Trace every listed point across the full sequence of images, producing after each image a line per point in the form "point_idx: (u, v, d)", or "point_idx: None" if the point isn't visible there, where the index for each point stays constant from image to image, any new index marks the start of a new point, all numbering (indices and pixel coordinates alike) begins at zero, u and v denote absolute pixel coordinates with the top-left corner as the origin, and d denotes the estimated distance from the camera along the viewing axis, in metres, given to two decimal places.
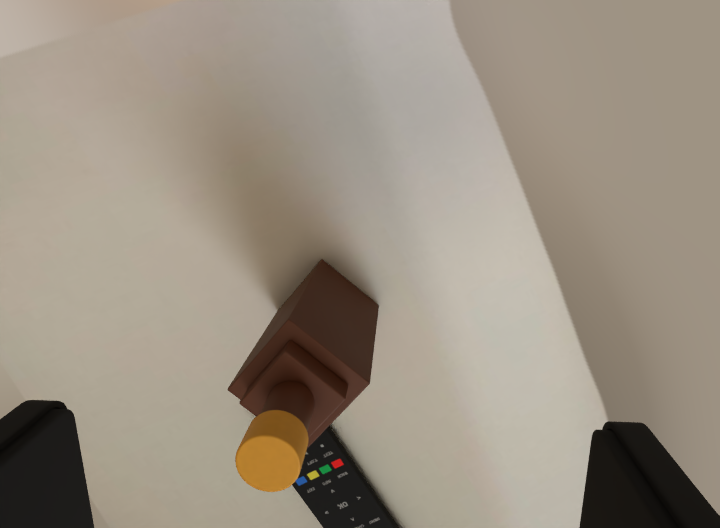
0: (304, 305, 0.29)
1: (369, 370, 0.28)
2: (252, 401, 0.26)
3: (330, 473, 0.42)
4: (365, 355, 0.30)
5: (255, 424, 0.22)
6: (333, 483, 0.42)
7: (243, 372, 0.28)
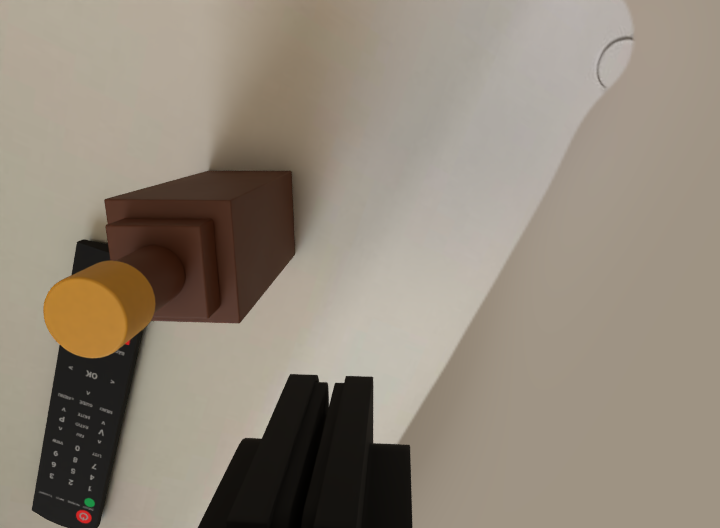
0: (250, 199, 0.24)
1: (248, 310, 0.24)
2: (120, 236, 0.21)
3: None
4: (255, 292, 0.25)
5: (110, 269, 0.17)
6: None
7: (136, 200, 0.22)
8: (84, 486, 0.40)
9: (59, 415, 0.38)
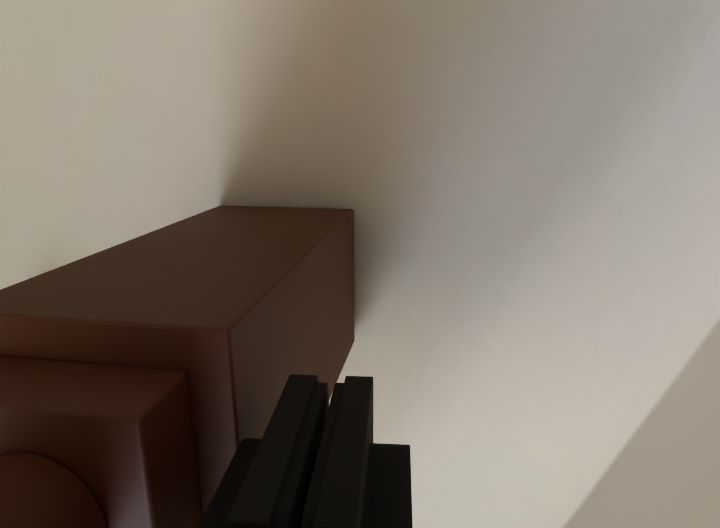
0: (281, 297, 0.11)
1: None
2: None
3: None
4: None
5: None
6: None
7: (14, 318, 0.09)
8: None
9: None
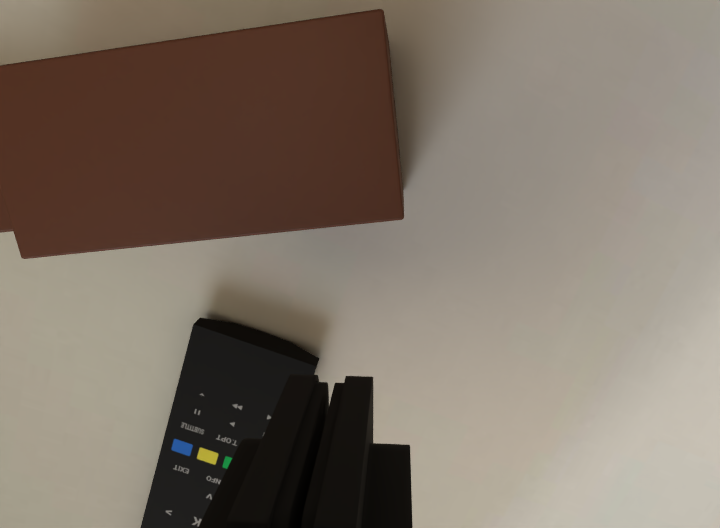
0: None
1: (9, 64, 0.15)
2: None
3: None
4: None
5: None
6: None
7: None
8: None
9: None
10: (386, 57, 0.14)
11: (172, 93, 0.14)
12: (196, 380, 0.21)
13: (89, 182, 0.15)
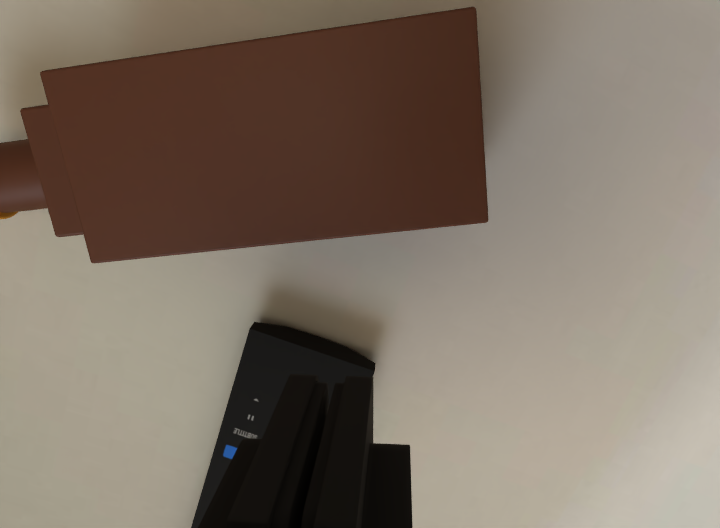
0: None
1: (84, 65, 0.14)
2: None
3: None
4: None
5: None
6: None
7: None
8: None
9: None
10: (477, 56, 0.13)
11: (253, 94, 0.14)
12: (251, 385, 0.21)
13: (164, 185, 0.15)
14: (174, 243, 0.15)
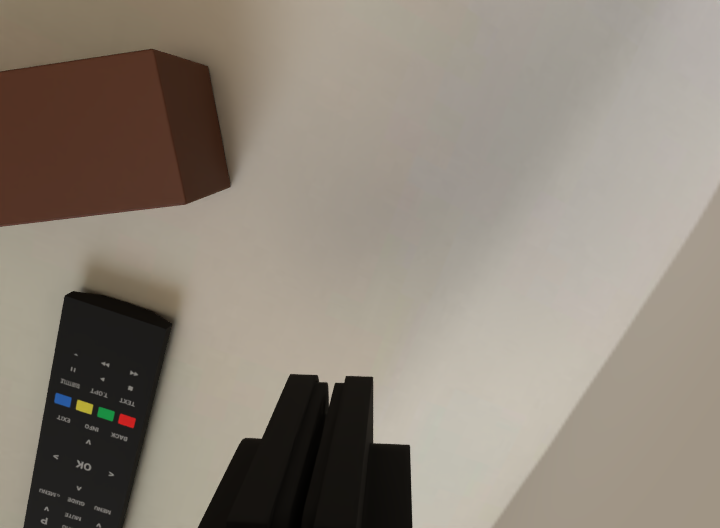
0: None
1: None
2: None
3: (106, 423, 0.27)
4: None
5: None
6: (99, 435, 0.28)
7: None
8: None
9: (40, 516, 0.29)
10: (160, 83, 0.18)
11: (5, 110, 0.19)
12: (70, 342, 0.26)
13: None
14: None
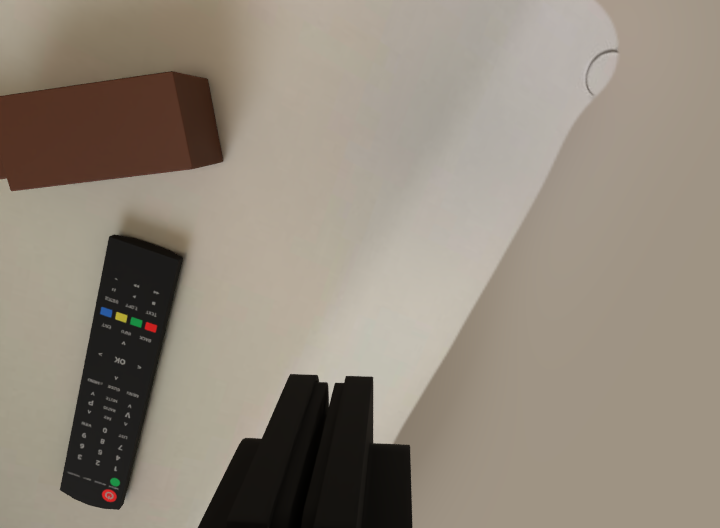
0: None
1: None
2: None
3: (136, 329, 0.39)
4: None
5: None
6: (131, 338, 0.39)
7: None
8: (110, 466, 0.42)
9: (88, 399, 0.41)
10: (176, 92, 0.30)
11: (80, 109, 0.30)
12: (112, 270, 0.38)
13: (43, 151, 0.31)
14: (49, 180, 0.32)
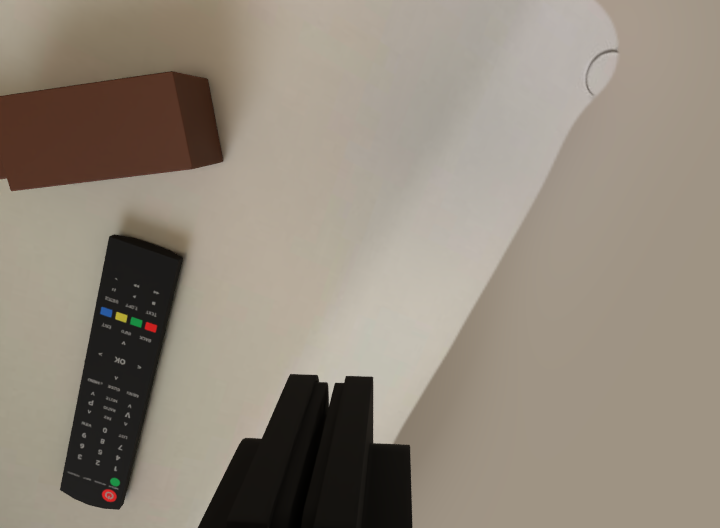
0: None
1: (4, 95, 0.31)
2: None
3: (136, 329, 0.39)
4: None
5: None
6: (131, 338, 0.39)
7: None
8: (110, 466, 0.42)
9: (88, 399, 0.41)
10: (176, 92, 0.30)
11: (80, 109, 0.30)
12: (112, 270, 0.38)
13: (43, 152, 0.31)
14: (49, 180, 0.32)
